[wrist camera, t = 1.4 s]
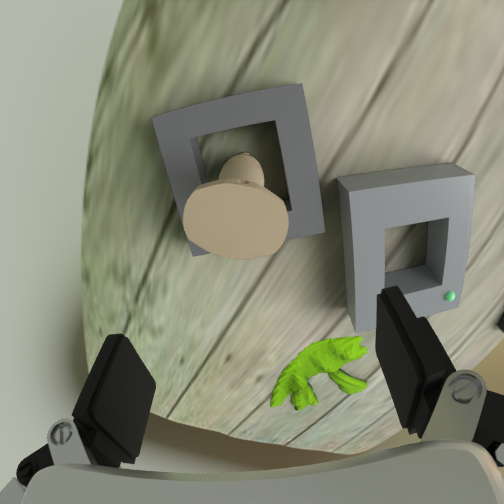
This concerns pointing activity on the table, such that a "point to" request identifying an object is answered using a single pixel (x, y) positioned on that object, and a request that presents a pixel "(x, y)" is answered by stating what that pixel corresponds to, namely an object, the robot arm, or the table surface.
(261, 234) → the handle
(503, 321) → the disk drive
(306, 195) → the grey square frame
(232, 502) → the robot arm
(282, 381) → the cloth
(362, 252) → the port block
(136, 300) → the table surface
